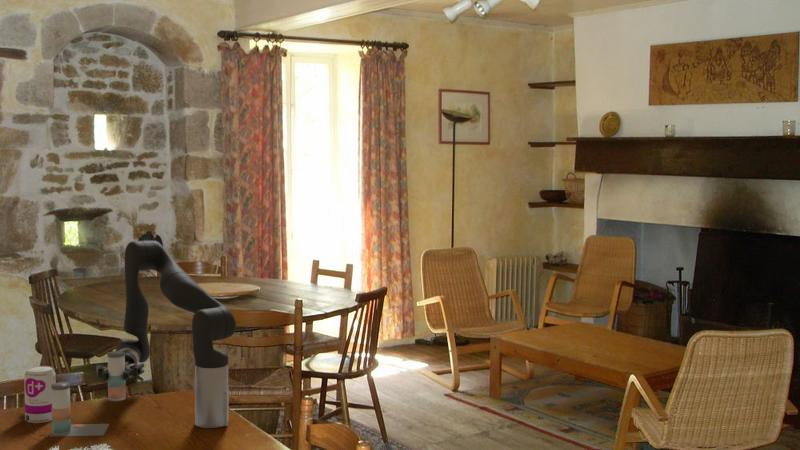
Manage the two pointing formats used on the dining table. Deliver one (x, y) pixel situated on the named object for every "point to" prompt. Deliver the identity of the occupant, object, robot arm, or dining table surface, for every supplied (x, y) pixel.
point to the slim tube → (116, 376)
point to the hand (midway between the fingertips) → (115, 376)
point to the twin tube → (61, 408)
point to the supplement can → (38, 393)
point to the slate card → (86, 430)
